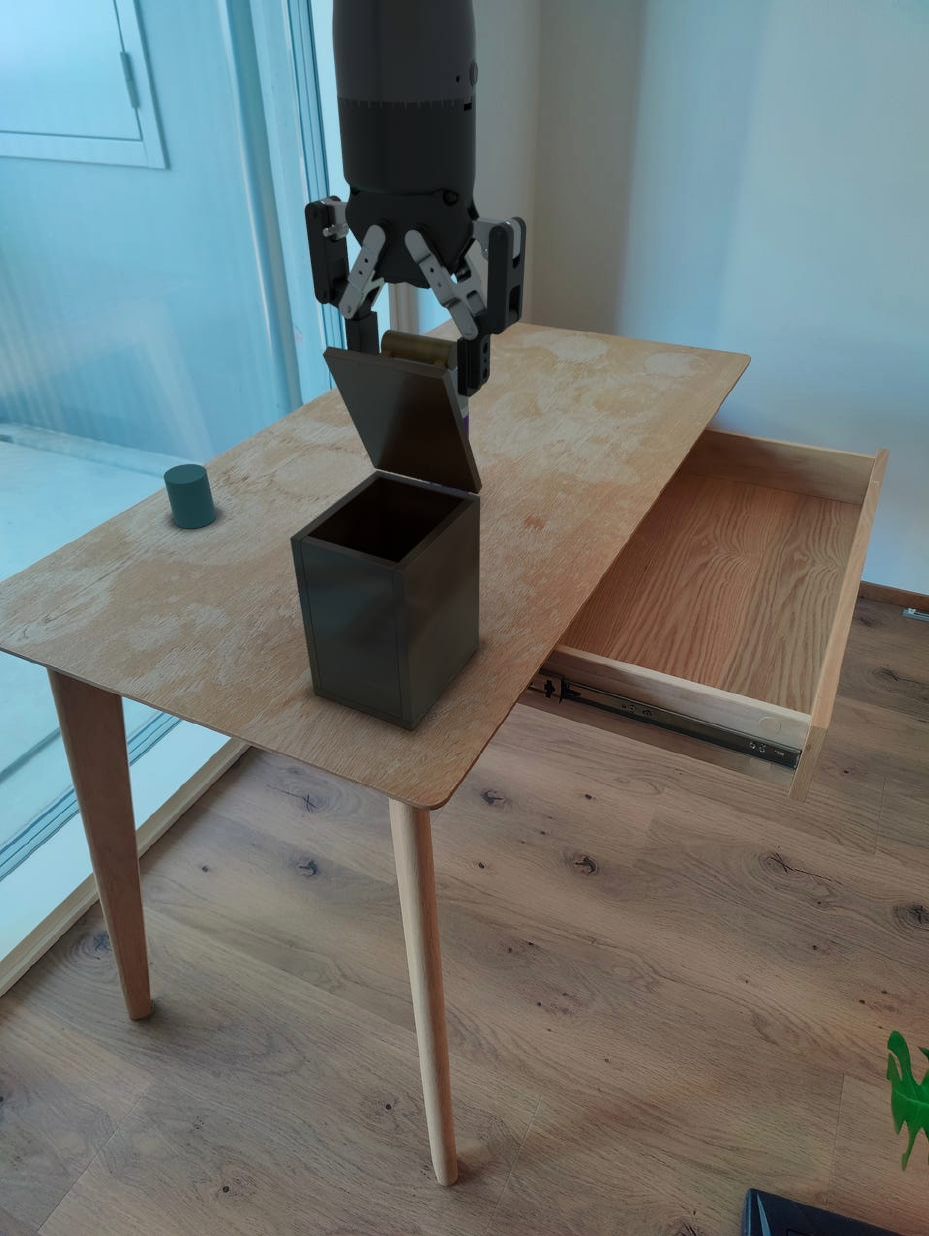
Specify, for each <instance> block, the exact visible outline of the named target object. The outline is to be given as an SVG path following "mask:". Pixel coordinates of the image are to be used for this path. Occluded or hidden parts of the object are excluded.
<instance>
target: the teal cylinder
mask: <svg viewBox="0 0 929 1236" xmlns="http://www.w3.org/2000/svg"><path fill="white" fill-rule="evenodd" d="M163 480H164V484H165V488H166V489H165V490H166V493H167V496H168V500H169V501H168V502H169V504H170V508H171V512H172V516H173V520H174V523H175V525H176V526H178V527H180V528H182V529H189V530H190V529H191V530H192V529H199V528H203V527H205V526H209V525H210V524H212V523H213V522H214V521H215V520H216V518H217V512H216V508H215V504H214V500H213V499H214V498H213V494H212V489H211V484H210V480H209V476H208V471H207V469H206V467H205V466H203V465H200V464H196V463H185V464H184V463H183V464H179V465H176V466H173V467H171V468H169V469H168V470H167V471H165V472H164V474H163Z"/></svg>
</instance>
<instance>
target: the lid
mask: <svg viewBox="0 0 929 1236" xmlns="http://www.w3.org/2000/svg"><path fill="white" fill-rule="evenodd" d="M322 357H323V359H324V361H325V364H326V365H327V368H328V370H329V372H330V374H331V377H332V379H333V381H334V383H335V385H336V388H337V390H338V392H339V395H340V396H341V399H342V401H343V403H344V405H345V408H346V410H347V411H348V414H349V416H350V418H351V421H352V423H353V425H354V427H355V429H356V431H357V433H358V437H359V438H360V440H361V443H362V444H363V445H362V446H363V447H364V449H365V451H366V453H367V455H368V456H367V457H368V458H369V460H370V462H371V464H372V466H373V469H376V470H378V471H382V472H386V473H390V474H394V475H398V476H402V477H406V478H410V479H414V480H418V481H422V480H423V481H427V482H430V483H434V484H438V485H442V486H446V487H450V488H454V489H458V490H462V491H466V492H469V494H473V495H479V494H480V492H481V490H482V488H483V482H482V480H481V479H482V478H481V477H480V473H479V470H478V465H477V463H476V459H475V456H474V455H475V454H474V452H473V449H472V445H471V441H470V437H469V438H468V435H467V431H466V428H465V424H464V421H463V418H462V414H461V411H460V407H459V404H458V400H457V397H456V393H455V390H454V387H453V383H452V380H451V376H450V373H449V370H451V371H453V370H455V369H456V367H457V340H456V341H455V340H451V339H446V338H439V337H433V336H429V335H423V334H417V333H411V332H406V331H400V330H395V329H387V330H385V331H384V332H383V335H382V336H381V340H380V354H379V356H377V355H372V354H367V353H362V352H356V351H351V350H347V348H340V347H335V346H330V345H328V346H327V347H326V349H325V350H324V352H323V353H322Z"/></svg>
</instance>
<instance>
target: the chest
mask: <svg viewBox="0 0 929 1236" xmlns="http://www.w3.org/2000/svg"><path fill="white" fill-rule="evenodd" d="M289 541H290V546H291V547H290V548H291V552H292V559H293V566H294V572H295V579H296V585H297V586H296V587H297V592H298V599H299V605H300V611H301V612H300V613H301V618H302V622H303V623H302V624H303V631H304V637H305V645H306V650H307V656H308V662H309V669H310V675H311V682H312V689H313V693H314V695H318V696H320V697H323V698H326V699H328V700H331V701H333V702H335V703H338V704H341V705H344V706H345V707H346V706H347V707H348V708H351V709H354V710H357V711H359V712H362V713H365V714H367V715H369V716H372V717H375V718H378V719H380V720H383V721H386V722H388V723H390V724H393V725H395V726H398V727H401V728H403V729H406V730H409V731H411V732H412V731H414V729H415V728H416V727H417V726H418V724H419V723H420V722H421V721H422V720H423V718H424V717H425V715H426V714H428V712H429V711H430V709H431V708H432V707H433V706H434V704H435V703H436V702H437V701H438V699H439V698H440V697H441V696H442V694H443V693H444V692H445V690H446V689H447V688H448V687H449V686H450V684H451V683H452V682H453V680H454V679H455V678H456V677H457V675H458V674H459V673H460V672H461V670H462V669H463V668H464V666H466V664H467V663H468V662H469V660H470V659H471V658H472V657H473V656H474V654H475V653H476V651H477V650H478V649H479V647H480V572H481V571H480V568H481V567H480V564H481V563H480V561H481V559H480V558H481V557H480V555H481V553H480V552H481V496H480V495H477V494H474V493H469V494H468V493H465V492H461V491H457V490H453V489H449V488H445V487H441V486H437V485H433V484H429V483H425V482H422V480H418V479H414V478H410V477H407V476H403V475H399V474H395V473H391V472H387V471H383V470H379V469H376V470H375V471H374V472H372V474H370V475H369V476H368V477H366V478H365V479H364V480H363V481H361V482H360V483H358V484H357V485H356V486H355V487H353V488H352V489H351V490H349V491H348V492H347V493H346V494H344V495H343V496H342V497H341V498H340V499H337V501H335V502H334V503H333V504H331V505H330V506H329V507H328V508H326V509H325V510H324V511H323V512H321V513H320V514H319V515H318V516H316V517H315V518H314V519H312V520H311V521H310V522H309V523H307V524H306V525H305V526H304V527H302V528H301V529H300V530H299V531H297V532H296V533H295V534H293V535H292V536H291V537H290V538H289Z"/></svg>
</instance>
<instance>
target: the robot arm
mask: <svg viewBox="0 0 929 1236" xmlns="http://www.w3.org/2000/svg"><path fill="white" fill-rule="evenodd" d="M474 12H475V11H474V3H473V0H332V19H331V22H332V23H331V27H332V28H331V38H332V39H331V40H332V53H333V66H334V76H335V88H336V89H335V90H336V102H337V114H338V126H339V127H338V128H339V136H340V137H339V138H340V148H341V162H342V174H343V175H342V176H343V178H344V180H345V182H346V184H348V186H349V195H348V199H347V201H342V199H341V198H340V197H339V196H337V195H336V194H333V195H329V196H326V197H324V198H320V199H317V200H314V201H311V202H308V203H307V204H306V205H305V207H304V211H303V212H304V220H305V221H304V222H305V228H306V235H307V237H306V238H307V243H308V244H307V245H308V252H309V259H310V261H309V262H310V269H311V275H312V284H313V291H314V297H315V299H316V301H317V302H318V303H319V304H320V305H327V304H328V305H331V306H333V307H334V308H336V309H337V310H338V311H339V313H340V315H341V316H342V318H343V319H344V329H345V340H346V347H347V348H346V350H351V351H356V352H362V353H367V354H372V355H377V356H379V354H380V353H381V345H380V335H379V319H378V311H374V310H372V308H373V307H374V306H375V304H376V302H377V300H378V298H379V296H380V294H381V292H382V290H383V288H384V287H385V285H386V284H391V285H397V284H404V283H407V284H409V285H411V286H412V287H415V288H417V289H425V290H430V289H431V290H432V292H433V294H434V296H435V298H436V300H437V302H438V304H439V305H440V306H441V307H443V308H444V309H447V311H448V313H449V314H450V316H451V319H452V320H453V322H454V324H455V326H456V328H457V330H458V331H459V334H460V337H458V338H457V339H456V342H457V390H458V395H460V396H465V397H468V398H471V397H473V396H474V395H475V394H476V393H478V392H479V391H480V390H481V389H482V387H483V386H484V385H485V384H487V383H488V380H489V379H490V376H491V337H492V335H496V336H497V335H501V334H502V333H504V332H505V331H506V330H507V329H509V328H510V327H511V326H513V325H515V324H516V323H518V322H519V321H520V320H521V319H522V317H523V301H524V300H523V299H524V285H525V284H524V283H525V282H524V281H525V266H526V265H525V263H526V261H525V260H526V246H527V245H526V244H527V223H526V222H525V220H524V219H523V218H522V217H521V216H513V217H511V218H507V219H505V220H504V219H503V220H502V219H496V218H489V217H482V216H480V213H479V211H478V209H477V207H476V203H475V198H474V190H475V189H474V188H475V182H476V177H477V83H478V79H479V78H478V77H479V68H478V63H477V31H476V20H475V13H474ZM349 232H351V234H352V235H353V237H354V238H355V240H356V241H357V243H358V245H359V247H360V250H359V253H358V255H357V257H356V259H355V261H354V263H353V266H352V268H351V270H350V262H349V261H350V260H349V250H348V241H347V236H348V235H349ZM476 241H477V242H478V243H479V246H480V250H481V254H480V255H481V256H482V258H483V259H485V260H486V261H487V283H486V296H485V294H484V292H483V290H482V285H483V283H482V279H481V277H480V274H479V273H478V271H477V269H476V267H475V265H474V263H473V260H472V259H471V256H470V255H469V253H468V252H469V251H470V249H471V248H472V246H473V245H474V244H475V242H476ZM453 276H454V277H455V279H456V282H455V281H454V280H453V278H452V277H453Z"/></svg>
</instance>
